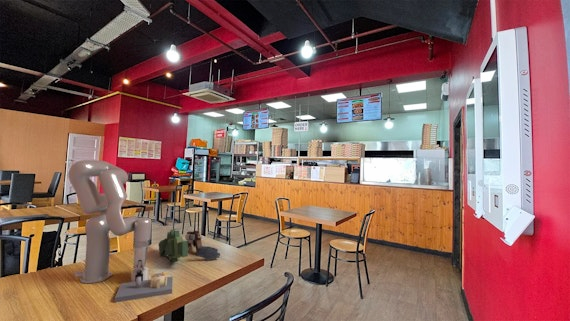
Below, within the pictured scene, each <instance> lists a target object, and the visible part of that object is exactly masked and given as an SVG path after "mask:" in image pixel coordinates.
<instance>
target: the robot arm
mask: <svg viewBox="0 0 570 321" xmlns="http://www.w3.org/2000/svg"><path fill="white" fill-rule="evenodd" d="M90 177H91V178H92V177H98V180H99V183H100V187H101V188H102V191H103V193H100V192H99V190H98V188H97V185H96V183H94V181H93V180H92V179H90ZM68 180H69V181H70V184H71V186H72V187H73V190H74V191H75V195H76V197H77V200H78V202H79V206H80V207H81V210H82V211H83V212H84V213H85V214H87V215H93V214H97V215H94V216H92V217H90V218H89V219H87V221H86V222H85V225H84V226H85V227H84V230H85V236H86V237H85V238H86V246H85V248H86V249H85V261H84V262H85V263H84V269H82V270H76V271H73V276H75V278H77V277H80V279H79V280H80V283H82V284H95V283H99V282H103V281H106V280H107V279H109V278H111V277H112V275H113V272H112V271H111V270H109V268H110V266H109V264H110V252H111V251H110V250H111V249H110V248H111V239H110V235H109V231H111V233H112V234H113V235H114V236H117V237H118V236H119V237H121V236H125V235H126V234H129V233H131V232H133V243H132V244H133V248H134V257H133V267H132V270H134V269H136V275H135V282H136V278H137V277H141V281H143V268H144V267H146V263H147V257H148V248H149V247H150V246H151V242H152V240H151V237H152V226H153V225H152V224H153V223H152V219H151V218H150V217H137V216H133V215H131V216H128V217H125V218H123V215H122V205H123V203H124V202H125V201H126V199H128V193H127V192H126V189H125V187H124V184H126V183H127V182H128V180H129V175H128V173H127V171H125V170H124V169H122V168H121V167H118V166H116V165H114V164H112V163H110V162H108V161H105V160H95V159H94V160H93V159H91V160H90V159H84V160H78V161H76V162H74V163H73V164H72V165H71V166H70V168H69V170H68ZM98 213H100V214H98ZM141 269H142V270H141Z"/></svg>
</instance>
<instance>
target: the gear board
mask: <svg viewBox="0 0 570 321" xmlns="http://www.w3.org/2000/svg"><path fill="white" fill-rule="evenodd" d="M173 278H174V277H173V276H169V277H168V273H167V272H166V271H162V272H157V273H154V274H152V275H151V276H150V279H147V280H143V281H141V277H137V278H136V282H132V281H129V282H121V283H120V286H119V288H118V290H117V291H116V292H117V293H116V294H115V296H114V303H120V302H126V301H127V302H128V301H131V300H133V301H134V300H139V299H140V300H141V299H144V298H151V297H157V296H163V295H169V294H171V295H172V294H173Z"/></svg>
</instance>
